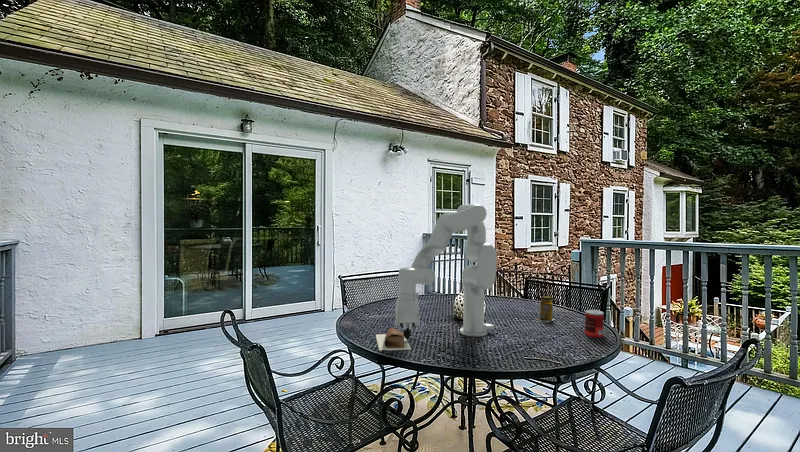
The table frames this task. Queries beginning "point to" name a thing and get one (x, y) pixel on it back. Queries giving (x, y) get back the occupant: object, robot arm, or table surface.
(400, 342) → the sunglasses case
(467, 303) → the robot arm
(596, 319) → the canned food
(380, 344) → the mat
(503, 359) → the table surface
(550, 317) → the condiment
